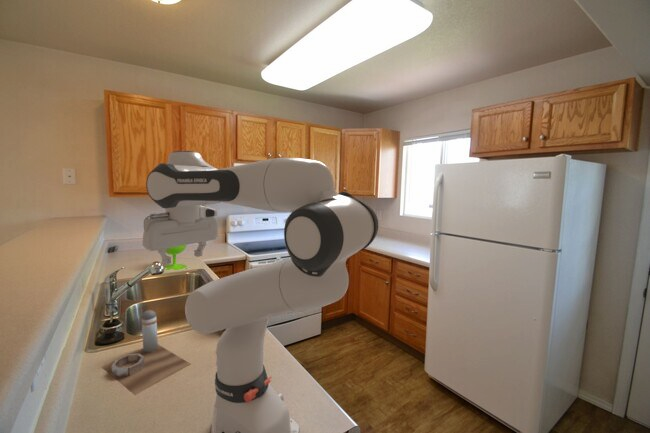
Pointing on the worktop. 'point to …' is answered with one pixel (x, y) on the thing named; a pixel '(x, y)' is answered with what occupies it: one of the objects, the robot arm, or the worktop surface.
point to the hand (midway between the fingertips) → (183, 259)
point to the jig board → (150, 369)
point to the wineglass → (173, 252)
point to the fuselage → (149, 331)
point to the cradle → (128, 370)
